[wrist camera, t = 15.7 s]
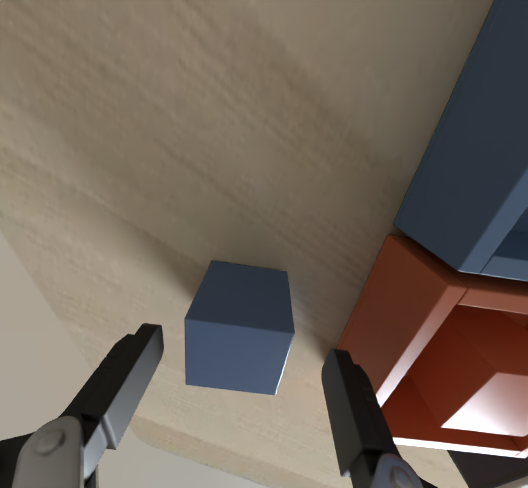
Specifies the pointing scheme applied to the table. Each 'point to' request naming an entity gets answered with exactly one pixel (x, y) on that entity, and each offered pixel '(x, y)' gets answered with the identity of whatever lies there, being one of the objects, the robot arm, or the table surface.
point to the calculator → (491, 470)
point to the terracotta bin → (422, 338)
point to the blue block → (239, 329)
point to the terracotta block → (476, 372)
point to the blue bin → (479, 158)
